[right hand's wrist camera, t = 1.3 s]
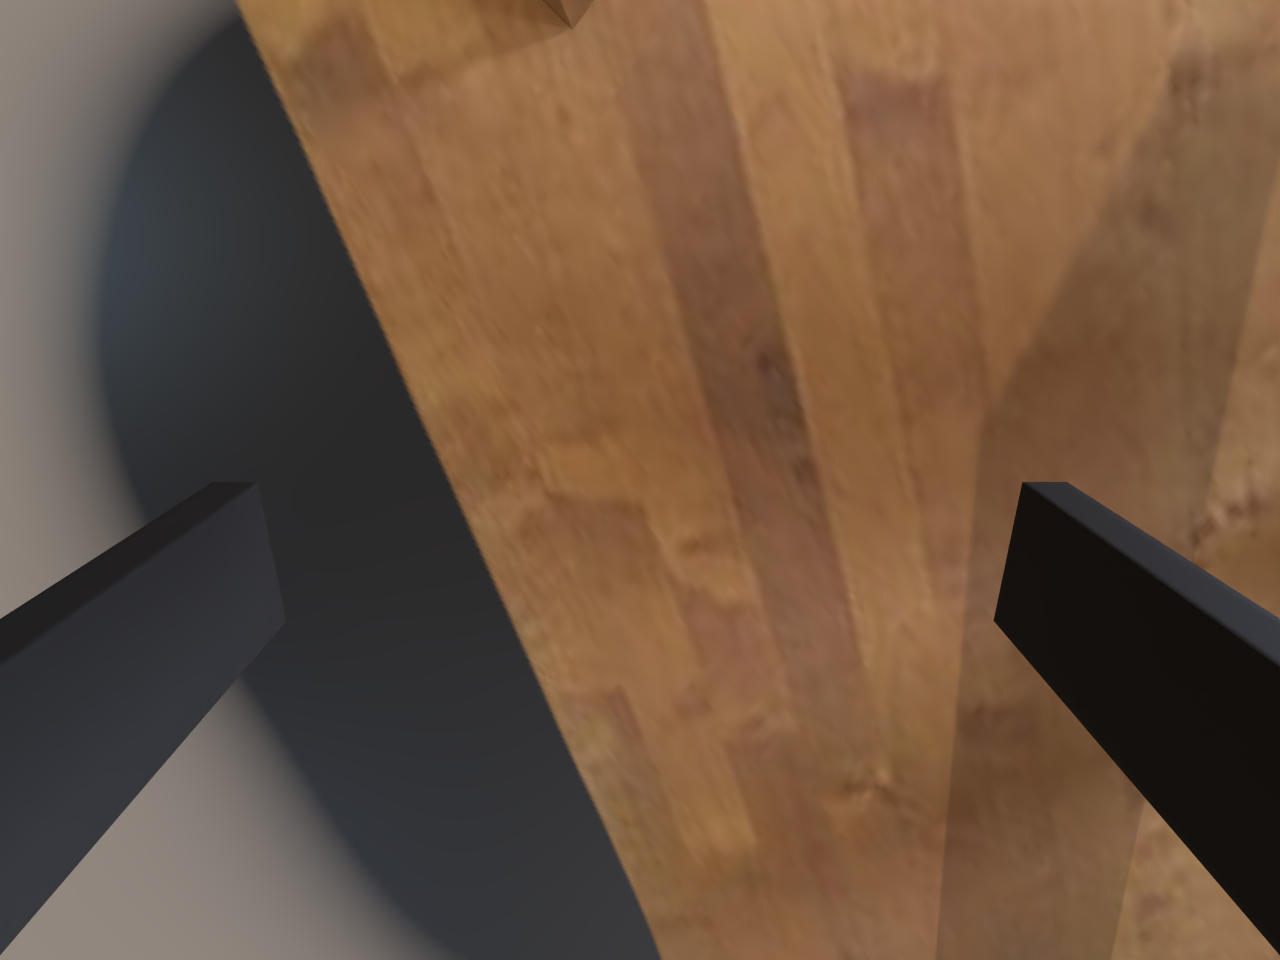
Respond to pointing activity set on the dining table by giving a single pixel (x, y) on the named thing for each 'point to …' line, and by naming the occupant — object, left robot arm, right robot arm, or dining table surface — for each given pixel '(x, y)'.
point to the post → (569, 9)
